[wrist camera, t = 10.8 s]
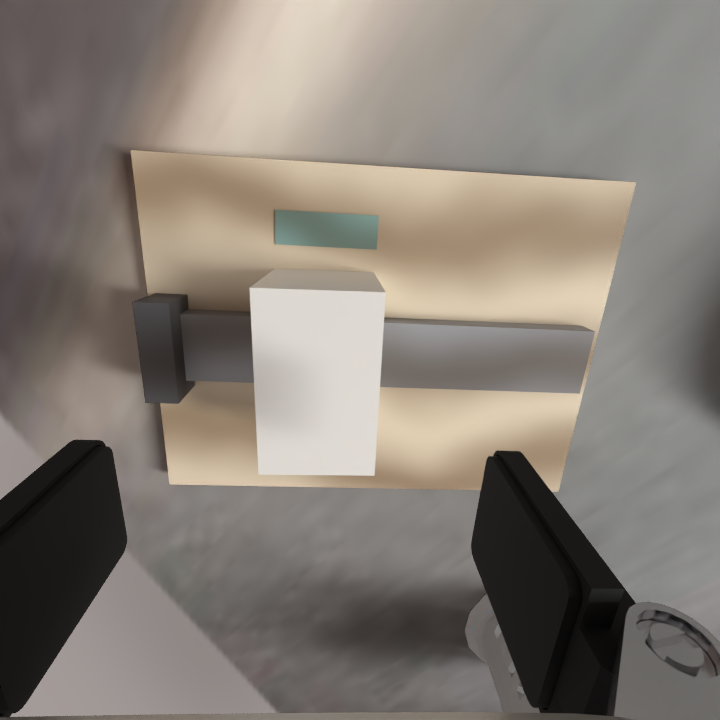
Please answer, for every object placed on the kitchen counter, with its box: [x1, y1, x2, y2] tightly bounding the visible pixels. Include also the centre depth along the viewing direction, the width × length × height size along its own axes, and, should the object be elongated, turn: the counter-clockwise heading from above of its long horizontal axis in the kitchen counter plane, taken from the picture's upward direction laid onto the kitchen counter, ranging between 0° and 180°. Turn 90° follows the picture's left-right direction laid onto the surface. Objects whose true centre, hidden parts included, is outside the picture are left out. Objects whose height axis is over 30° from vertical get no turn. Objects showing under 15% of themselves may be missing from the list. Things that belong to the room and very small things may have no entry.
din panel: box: [131, 150, 636, 492], centre depth 22 cm, size 18×24×4 cm
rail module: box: [250, 269, 386, 476], centre depth 19 cm, size 9×5×6 cm, turn 178°
